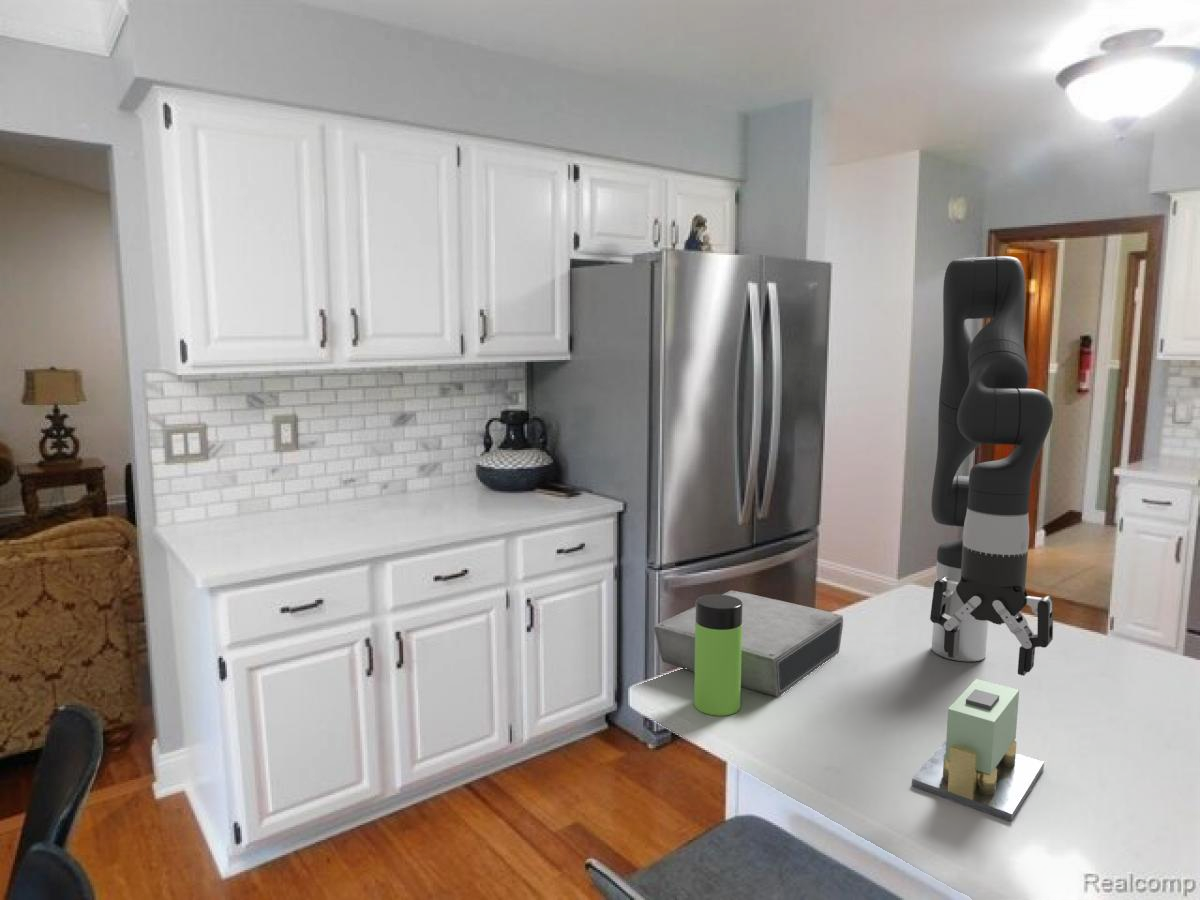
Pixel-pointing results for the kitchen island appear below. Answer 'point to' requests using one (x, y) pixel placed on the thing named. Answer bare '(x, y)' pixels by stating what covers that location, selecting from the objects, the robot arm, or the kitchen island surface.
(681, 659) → the speaker
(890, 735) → the kitchen island surface
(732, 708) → the tumbler
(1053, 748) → the kitchen island surface
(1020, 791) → the metal plate
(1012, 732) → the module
